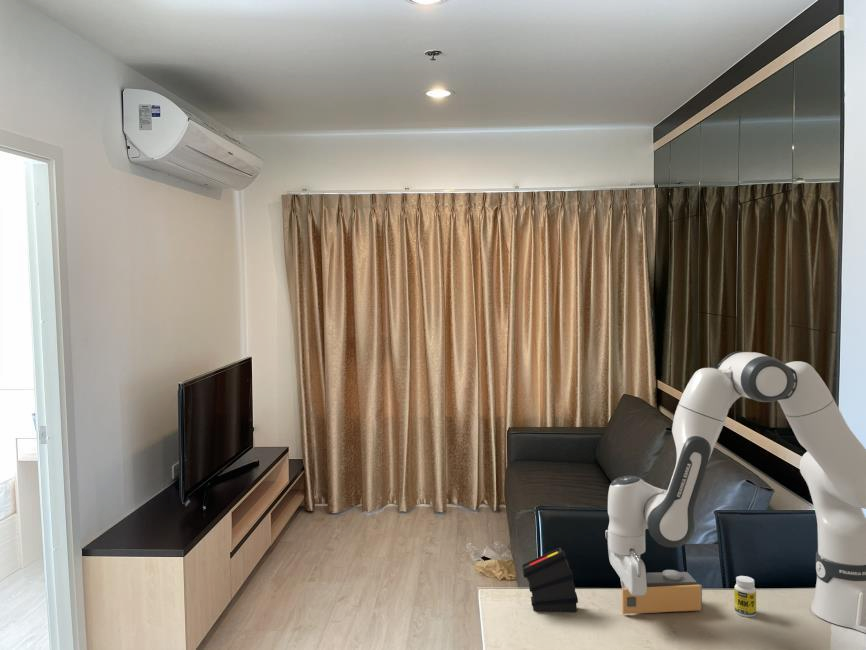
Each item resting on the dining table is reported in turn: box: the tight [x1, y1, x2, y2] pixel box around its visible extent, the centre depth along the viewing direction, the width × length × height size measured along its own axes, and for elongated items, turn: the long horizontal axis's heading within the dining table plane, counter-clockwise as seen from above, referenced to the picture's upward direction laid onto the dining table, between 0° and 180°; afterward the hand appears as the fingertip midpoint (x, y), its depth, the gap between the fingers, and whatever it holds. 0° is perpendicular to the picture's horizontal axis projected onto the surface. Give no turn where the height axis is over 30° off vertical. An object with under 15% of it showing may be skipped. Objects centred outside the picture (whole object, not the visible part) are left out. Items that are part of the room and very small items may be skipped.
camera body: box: [646, 569, 698, 587], centre depth 162 cm, size 14×6×8 cm, turn 90°
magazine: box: [521, 547, 579, 613], centre depth 161 cm, size 4×13×15 cm, turn 84°
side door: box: [621, 584, 703, 615], centre depth 158 cm, size 20×1×6 cm, turn 94°
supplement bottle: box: [733, 575, 757, 618], centre depth 157 cm, size 5×5×8 cm
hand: (627, 597), depth 160 cm, fingers closed
